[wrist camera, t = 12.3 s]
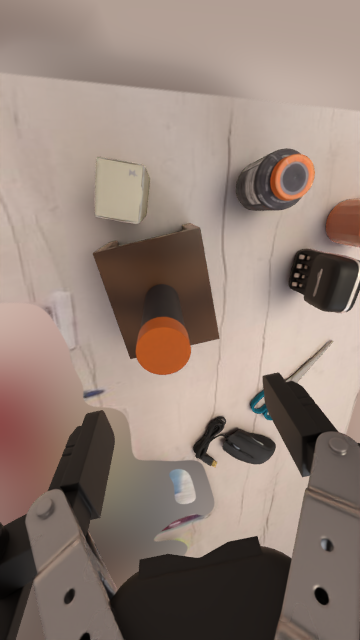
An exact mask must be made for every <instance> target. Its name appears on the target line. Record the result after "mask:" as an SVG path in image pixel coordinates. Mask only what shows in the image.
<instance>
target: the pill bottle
mask: <svg viewBox="0 0 360 640" xmlns="http://www.w3.org/2000/svg"><path fill="white" fill-rule="evenodd" d="M314 174H315V171H314V166H313V163H312V161H311V160H310V159H309V158H308V157H307V156H305V155H302V154H300V153H299V152H297V151H295V150H293V149H280V150H277V151H275V152H273V153H270V154H268V155H267V156H265V157H263V158H261V159H259V160H258V161H256V162H254V163H252V164H250V165H249V166H247V167H246V168H245V169H244V170H243V171H242V172H241V174H240V175H239V177H238V180H237V184H236V194H237V198H238V200H239V202H240V203H241V204H242V205H243V206H244V207H245V208H247V209H249V210H254V211H264V210H283V209H287V208H289V207H291V206H293V205H294V204H295V203H297V202H298V201H299V200H300V199H301V197H302V196H303V195H304V194H305V193H307V191H308V190H309V189H310V187H311V185H312V183H313V180H314Z"/></svg>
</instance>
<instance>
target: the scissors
mask: <svg viewBox="0 0 360 640" xmlns="http://www.w3.org/2000/svg"><path fill="white" fill-rule="evenodd" d="M332 343H333V341H332V340H331V341H330V342H329V343H328V344H327V345H326V346H325V347H323V348H322V349H321V350H320V351H319V352H318V353H317V354H316V355H315V356H314V357H313V358H312V359H310V360H309V361H308V362H307V363H306V364H305V365H304V366H303V367H302V368H300V369H299V370H298V371H297V372H296V373H295V374H294V375H293V376H292V377H290V378H289V379H288V380H286V382H289V381H294V382H296V383H297V382H298V381H299V380H300V379H301V378H302V377H303V375H304V374H305V373H306V372H307V371H308V370H309V369H310V367H311V366H312V365H313V364H314V363H315V362H316V361H317V359H318V358H319V357H320V356H321V355H322V354H323V353H324V352H325V350H326V349H327V348H328V347H329V346H330V345H331V344H332ZM263 397H264V390H263V391H262V392H260V393H259V394H258V395H257V396H256V397H255V398H254V399H253V400H252V402H251V404H250V406H251V408H252V411H253V412H254V413H257V414H261V413H263V415H264V416H265V418H266V419H267V420H272V418H271V416H270V415H266V414H267V412H268V410H267V407H266V404H265V405H264V406H262V407H261V408H259V409H256V408H254V406H255V405H256V404H257V403H258V402H259V400H261V399H262V398H263Z"/></svg>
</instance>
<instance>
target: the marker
mask: <svg viewBox="0 0 360 640" xmlns="http://www.w3.org/2000/svg"><path fill="white" fill-rule="evenodd" d="M190 354H191V347H190V342H189V337H188V333H187V331H186V329H185V325H184V320H183V315H182V310H181V306H180V301H179V296H178V294H177V292H176V290H175V289H174V288H172V287H171V286H169V285H165V284H159V285H155V286H153V287H152V288H151V289H150V290H149V291H148V292H147V294H146V298H145V304H144V310H143V316H142V322H141V328H140V331H139V334H138V339H137V344H136V357H137V360H138V362H139V363H140V365H141V366H142V367H143V368H144V369H146V370H147V371H149V372H151V373H154V374H159V375H167V374H171V373H174V372H177V371H178V370H180V369H181V368H183V367H184V366H185V365H186V363H187V362H188V360H189V358H190Z"/></svg>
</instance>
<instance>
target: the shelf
mask: <svg viewBox="0 0 360 640" xmlns="http://www.w3.org/2000/svg"><path fill="white" fill-rule="evenodd" d="M182 228H183V231H179V232H175V233H171V234H166V235H162V236H158V237H154V238H150V239H145V240H141V241H137V242H133V243H129V244H125V245H120V246H119V244H118V241H113V242H109V243H108V244H106V245H105V246H103V247H102V248H100V249H99V250H97V251H95V252H94V253H93V255H94V258H95V261H96V264H97V267H98V269H99V272H100V275H101V278H102V281H103V283H104V286H105V289H106V292H107V295H108V297H109V300H110V303H111V306H112V309H113V311H114V314H115V317H116V320H117V323H118V325H119V328H120V331H121V334H122V337H123V339H124V342H125V345H126V348H127V351H128V353H129V356H130V359H133V358H137V357H136V344H137V339H138V334H139V331H140V328H141V322H142V316H143V310H144V304H145V298H146V294H147V292H148V291H149V290H150V289H151V288H152V287H153V286H155V285H159V284H165V285H169V286H171V287H172V288H174V289H175V290H176V292H177V294H178V296H179V301H180V306H181V310H182V315H183V320H184V325H185V329H186V331H187V333H188V337H189V342H190V345H194V344H198V343H203V342H207V341H211V340H216V339H219V333H218V327H217V321H216V316H215V310H214V304H213V299H212V293H211V287H210V282H209V276H208V270H207V264H206V259H205V253H204V247H203V242H202V236H201V230H200V228H199V227H197V226H195V225H193V224H191V223H188V224H184V225H182Z"/></svg>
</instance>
